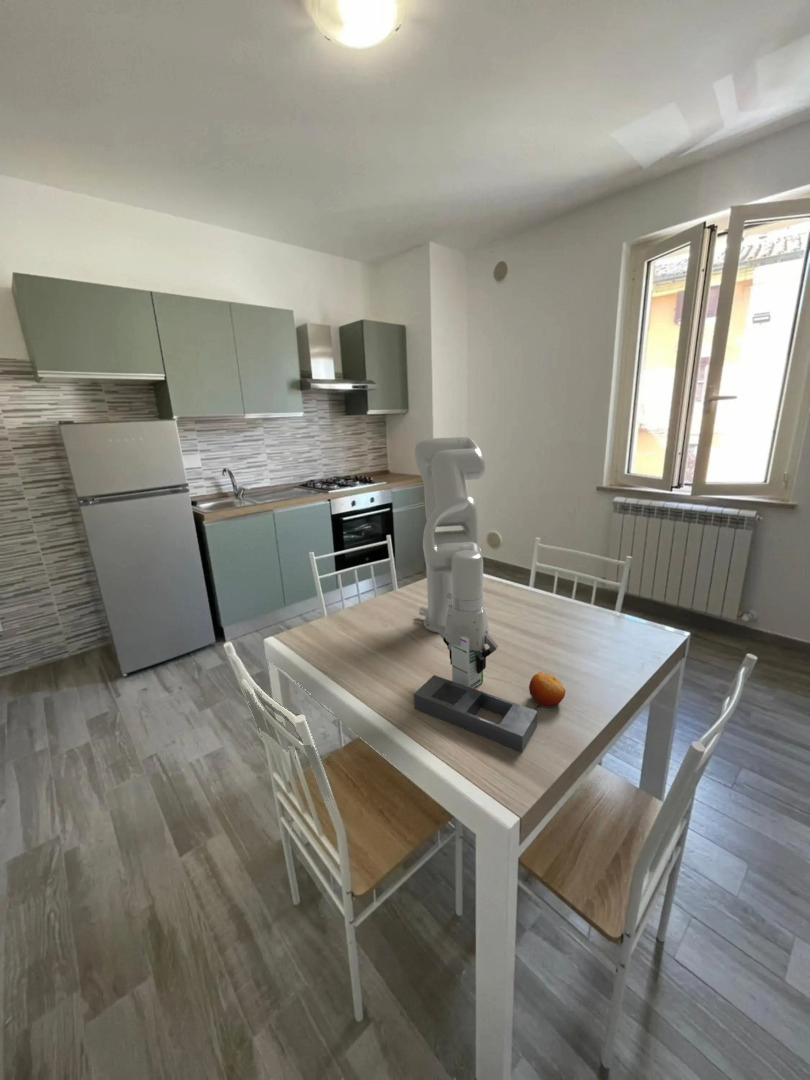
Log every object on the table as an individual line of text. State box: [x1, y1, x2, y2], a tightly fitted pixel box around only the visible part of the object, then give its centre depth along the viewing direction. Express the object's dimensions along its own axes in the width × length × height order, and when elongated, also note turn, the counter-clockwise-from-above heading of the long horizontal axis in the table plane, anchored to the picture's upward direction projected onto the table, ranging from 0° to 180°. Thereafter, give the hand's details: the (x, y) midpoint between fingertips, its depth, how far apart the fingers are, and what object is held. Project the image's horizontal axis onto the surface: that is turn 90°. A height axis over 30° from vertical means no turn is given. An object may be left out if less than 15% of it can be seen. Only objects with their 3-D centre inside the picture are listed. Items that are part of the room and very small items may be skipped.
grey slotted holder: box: [413, 674, 539, 754], centre depth 95 cm, size 26×9×4 cm, turn 55°
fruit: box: [528, 671, 566, 709], centre depth 99 cm, size 8×8×8 cm
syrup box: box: [451, 636, 484, 689], centre depth 107 cm, size 6×6×14 cm
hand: (467, 665), depth 107 cm, fingers closed on syrup box, 6 cm apart
